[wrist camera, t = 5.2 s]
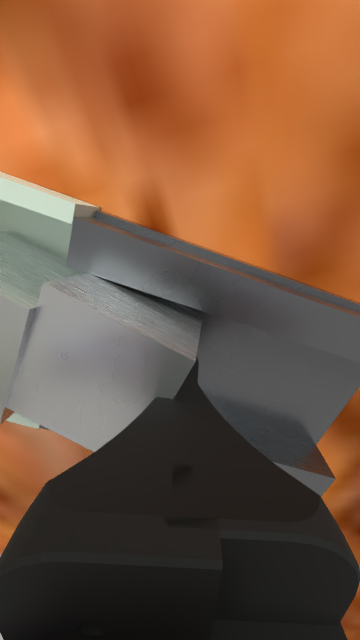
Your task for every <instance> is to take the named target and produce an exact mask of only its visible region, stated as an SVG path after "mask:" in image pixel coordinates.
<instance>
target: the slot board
mask: <svg viewBox="0 0 360 640" xmlns="http://www.w3.org/2000/svg"><path fill="white" fill-rule="evenodd" d="M66 266H67V267H70V268H73V269H76V270H79V271H82V272H86V273H90V274H92V275H95V276H98V277H101V278H104V279H107V280H110V281H113V282H116V283H119V284H122V285H125V286H128V287H131V288H134V289H137V290H140V291H143V292H146V293H149V294H152V295H155V296H158V297H161V298H164V299H167V300H170V301H174V302H177V303H180V304H182V305H184V306H186V307H188V308H190V309H192V310H194V311H196V312H197V313H199V314H201V315H203V319H202V325H201V331H200V337H199V343H198V349H197V358H198V362H199V369H198V384H199V386H200V387H201V389H202V390H203V392H204V393H205V395H206V396H207V398H208V399H209V400H210V402H211V403H212V404H213V406H214V407H215V408H216V409H217V411H218V412H219V413H220V414H221V415H222V416H223V417H224V419H225V420H226V421H227V422H228V423H229V424H230V425H231V426H232V427H233V428H234V429H235V430H236V431H237V432H238V433H239V434H240V435H241V436H242V437H244V438H245V439H246V440H247V441H248V442H249V443H250V444H251V445H252V446H253V447H255V448H256V449H257V450H258V451H259V452H261V453H262V454H263V455H264V456H266V457H267V458H268V459H269V460H271V461H272V462H273V463H275V464H276V465H277V466H278V467H280V468H281V469H283V470H284V471H286V472H287V473H288V474H290V475H291V476H293V477H294V478H296V479H297V480H299V481H300V482H301V483H303V484H304V485H306V486H307V487H309V488H310V489H312V490H313V491H314V492H316V493H317V494H319V495H320V496H322V495H323V493H324V492H325V491H326V490H327V489H328V488H329V486H330V485H331V484H332V483H333V482H334V480H335V479H336V478H335V477H334V475H333V473H332V472H331V470H330V468H329V466H328V465H327V463H326V461H325V460H324V458H323V456H322V455H321V453H320V451H319V449H318V448H317V446H316V444H317V443H318V442H319V440H320V439H321V438H322V436H323V435H324V434H325V432H326V431H327V429H328V428H329V427H330V425H331V424H332V423H333V421H334V420H335V419H336V417H337V416H338V415H339V413H340V412H341V411H342V409H343V408H344V407H345V405H346V404H347V403H348V401H349V400H350V399H351V397H352V396H353V394H354V393H355V392H356V390H357V389H358V388H359V386H360V303H358V302H355V301H352V300H349V299H346V298H344V297H341V296H338V295H335V294H332V293H330V292H327V291H324V290H321V289H318V288H316V287H313V286H310V285H307V284H304V283H302V282H299V281H296V280H293V279H291V278H288V277H285V276H282V275H279V274H277V273H274V272H271V271H268V270H265V269H263V268H260V267H257V266H254V265H251V264H249V263H246V262H243V261H240V260H237V259H235V258H232V257H229V256H226V255H224V254H221V253H218V252H215V251H212V250H210V249H207V248H204V247H201V246H198V245H196V244H193V243H190V242H187V241H184V240H182V239H179V238H176V237H173V236H170V235H168V234H165V233H162V232H159V231H156V230H154V229H151V228H148V227H145V226H143V225H140V224H137V223H134V222H131V221H129V220H126V219H123V218H120V217H117V216H115V215H112V214H109V213H106V212H103V211H96V214H95V218H89V217H74V219H73V225H72V231H71V238H70V244H69V250H68V256H67V262H66ZM39 428H43V429H47V430H49V429H48V428H46V427H44V426H42V425H40V426H39Z"/></svg>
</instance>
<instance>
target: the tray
mask: <svg viewBox="0 0 360 640" xmlns="http://www.w3.org/2000/svg"><path fill="white" fill-rule="evenodd" d="M96 211H101V208H100V207H98V206H95V205H92V204H89V203H86V202H84V201H81V200H78V199H75V198H73V197H70V196H67V195H64V194H61V193H59V192H56V191H53V190H50V189H47V188H45V187H42V186H39V185H36V184H34V183H31V182H28V181H25V180H22V179H20V178H17V177H14V176H11V175H8V174H6V173H3V172H0V231H9V232H12V233H14V234H16V235H18V236H20V237H22V238H24V239H26V240H28V241H30V242H32V243H34V244H36V245H37V246H39V247H41V248H43V249H45V250H47V251H49V252H51V253H53V254H55V255H57V256H59V257H61V258H63V259H65V260H67V256H68V250H69V244H70V238H71V231H72V225H73V219H74V217H89V218H95V214H96ZM5 421H9V422H13V423H17V424H20V425H24V426H28V427H32V428H36V429H39V426H40V424H38V423H36V422H34V421H32V420H30V419H28V418H26V417H24V416H22V415H20V414H18V413H16V412H15V413H13V414H12V415H11V416H10V417H9V418H8V419H7V420H5Z"/></svg>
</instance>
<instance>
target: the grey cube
mask: <svg viewBox="0 0 360 640" xmlns="http://www.w3.org/2000/svg"><path fill="white" fill-rule="evenodd" d="M202 319H203V315H201V314H199V313H197V312H196V311H194V310H192V309H190V308H188V307H186V306H184V305H182V304H180V303H177V302H174V301H170V300H167V299H164V298H161V297H158V296H155V295H152V294H149V293H146V292H143V291H140V290H137V289H134V288H131V287H128V286H125V285H122V284H119V283H116V282H113V281H110V280H107V279H104V278H101V277H98V276H95V275H92V274H90V273H85V274H80V275H76V276H71V277H67V278H63V279H58V280H54V281H49V282H45V283H43V286H42V289H41V293H40V296H39V299H38V303H37V306H36V309H35V312H34V316H33V319H32V323H31V326H30V329H29V333H28V336H27V339H26V343H25V346H24V350H23V353H22V356H21V360H20V363H19V366H18V370H17V373H16V376H15V380H14V383H13V387H12V390H11V393H10V397H9V400H8V403H7V407H6V408H8V409H10V410H12V411H14V412H16V413H18V414H20V415H22V416H24V417H26V418H28V419H30V420H32V421H34V422H36V423H38V424H40V425H42V426H44V427H46V428H48V429H49V430H51V431H53V432H55V433H57V434H59V435H61V436H63V437H65V438H67V439H69V440H71V441H73V442H75V443H77V444H79V445H81V446H83V447H85V448H87V449H89V450H91V451H93V452H95V451H97V450H98V449H99V448H101V447H102V446H103V445H105V444H106V443H107V442H108V441H110V440H111V439H112V438H114V437H115V436H116V435H118V434H119V433H120V432H121V431H122V430H123V429H125V428H126V427H127V426H128V425H129V424H130V423H131V422H132V421H133V420H134V419H135V418H136V417H138V416H139V415H140V414H141V413H142V412H143V410H144V409H145V408H146V407H147V406H148V405H149V404H150V403H151V402H152V400H154V399H155V398H157V397H163V398H172V399H174V397H175V396H176V394H177V392H178V390H179V389H180V387H181V385H182V384H183V382H184V380H185V379H186V377H187V375H188V374H189V372H190V370H191V368H192V367H193V365H194V363H195V362H196V356H197V349H198V343H199V337H200V331H201V325H202Z"/></svg>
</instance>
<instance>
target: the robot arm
mask: <svg viewBox="0 0 360 640" xmlns="http://www.w3.org/2000/svg"><path fill="white" fill-rule="evenodd" d="M198 369H199V362H198V358H197V356H196V362H195V363H194V365H193V367H192V368H191V370H190V372H189V374H188V375H187V377H186V379H185V380H184V382H183V384H182V385H181V387H180V389H179V390H178V392H177V394H176V396H175V397H174V399H172V398H163V397H157V398H155V399H154V400H152V402H151V403H150V404H149V405H148V406H147V407H146V408H145V409H144V410H143V412H142V413H141V414H140V415H139V416H138V417H136V418H135V419H134V420H133V421H132V422H131V423H130V424H129V425H128V426H127V427H126V428H125V429H123V430H122V431H121V432H120V433H119V434H118V435H116V436H115V437H114V438H112V439H111V440H110V441H108V442H107V443H106V444H105V445H103V446H102V447H101V448H99V449H98V450H97V451H95V452H94V453H93V454H91V455H90V456H88V457H87V458H85V459H84V460H82V461H81V462H79V463H77V464H76V465H74V466H73V467H71V468H69V469H68V470H66V471H65V472H63V473H61V474H60V475H58V476H57V477H55V478H53V479H51V480H50V481H48V482H47V483H46V484H45V486H44V487H43V488H42V490H41V491H40V493H39V494H38V496H37V497H36V499H35V500H34V502H33V503H32V504H31V506H30V507H29V509H28V510H27V512H26V513H25V515H24V516H23V518H22V520H21V521H20V523H19V525H18V526H17V528H16V530H15V532H14V534H13V535H12V537H11V539H10V541H9V543H8V544H7V546H6V548H5V550H4V552H3V553H2V555H1V557H0V633H1V635H2V637H3V639H4V640H347V638H346V636H345V633H344V630H343V628H342V625H341V623H340V621H341V620H342V618H343V616H344V614H345V613H346V611H347V609H348V607H349V606H350V604H351V602H352V600H353V599H354V597H355V595H356V592H357V589H358V586H359V582H360V570H359V565H358V563H357V561H356V559H355V557H354V555H353V553H352V551H351V549H350V547H349V545H348V543H347V541H346V539H345V537H344V535H343V533H342V532H341V530H340V528H339V526H338V525H337V523H336V521H335V519H334V518H333V516H332V515H331V513H330V511H329V510H328V508H327V507H326V505H325V504H324V502H323V500H322V498H321V496H320V495H319V494H317V493H316V492H314V491H313V490H312V489H310V488H309V487H307V486H306V485H304V484H303V483H301V482H300V481H299V480H297V479H296V478H294V477H293V476H291V475H290V474H288V473H287V472H286V471H284V470H283V469H281V468H280V467H278V466H277V465H276V464H275V463H273V462H272V461H271V460H269V459H268V458H267V457H266V456H264V455H263V454H262V453H261V452H259V451H258V450H257V449H256V448H255V447H253V446H252V445H251V444H250V443H249V442H248V441H247V440H246V439H245V438H244V437H242V436H241V435H240V434H239V433H238V432H237V431H236V430H235V429H234V428H233V427H232V426H231V425H230V424H229V423H228V422H227V421H226V420H225V419H224V417H223V416H222V415H221V414H220V413H219V412H218V411H217V409H216V408H215V407H214V406H213V404H212V403H211V402H210V400H209V399H208V398H207V396H206V395H205V393H204V392H203V390H202V389H201V387H200V386H199V384H198Z"/></svg>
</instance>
